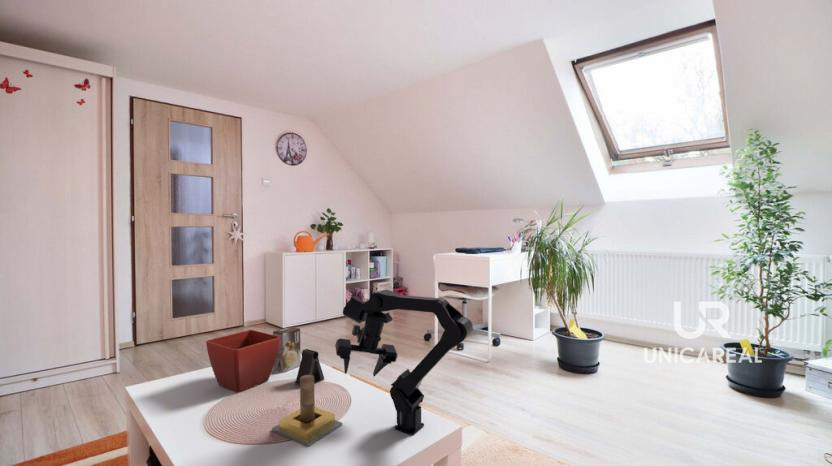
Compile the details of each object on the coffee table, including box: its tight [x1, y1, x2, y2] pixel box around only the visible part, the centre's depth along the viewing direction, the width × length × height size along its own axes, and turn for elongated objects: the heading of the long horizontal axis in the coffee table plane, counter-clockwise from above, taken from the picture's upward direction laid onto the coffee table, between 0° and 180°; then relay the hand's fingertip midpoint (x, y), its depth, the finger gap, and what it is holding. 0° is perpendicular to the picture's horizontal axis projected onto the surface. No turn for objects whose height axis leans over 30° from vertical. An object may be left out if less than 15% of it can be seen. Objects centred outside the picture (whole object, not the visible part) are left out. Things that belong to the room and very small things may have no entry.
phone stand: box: [294, 348, 325, 386], centre depth 145 cm, size 9×6×12 cm, turn 147°
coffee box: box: [272, 326, 302, 373], centre depth 160 cm, size 9×6×16 cm
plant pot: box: [205, 329, 280, 393], centre depth 144 cm, size 19×19×17 cm
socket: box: [271, 407, 343, 447], centre depth 112 cm, size 15×13×3 cm
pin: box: [299, 375, 316, 424], centre depth 112 cm, size 4×4×14 cm
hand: (359, 374), depth 120 cm, fingers open, 9 cm apart
